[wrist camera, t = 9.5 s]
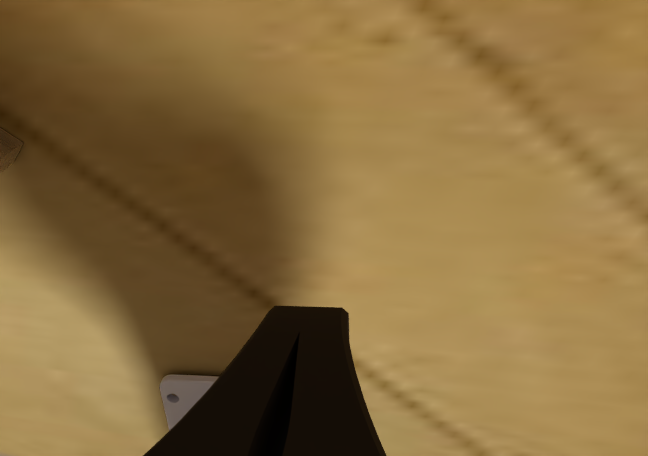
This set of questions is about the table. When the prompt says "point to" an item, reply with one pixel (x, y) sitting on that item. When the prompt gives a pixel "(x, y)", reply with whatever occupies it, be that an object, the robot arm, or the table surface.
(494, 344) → the table surface
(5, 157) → the steel bracket
